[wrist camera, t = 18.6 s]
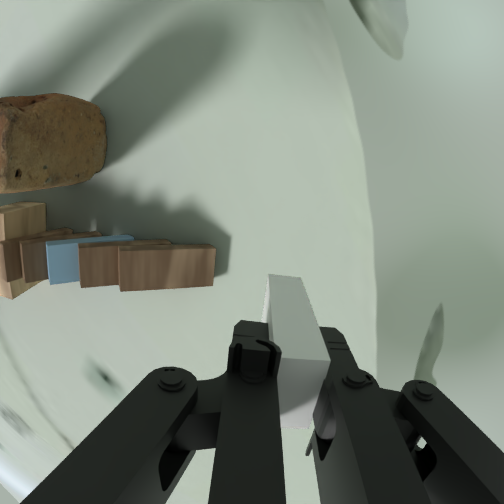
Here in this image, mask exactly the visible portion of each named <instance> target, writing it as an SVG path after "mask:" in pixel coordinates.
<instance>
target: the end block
mask: <svg viewBox="0 0 504 504" xmlns="http://www.w3.org/2000/svg"><path fill="white" fill-rule="evenodd" d="M45 231H46V203H36V202H16V203H12V204H8V205H4V206H0V241H3V240H8V239H12V238H17V237H21V236H26V235H30V234H35V233H40V232H45ZM41 281H43V280H41ZM41 281H36V282H31V283H25V281H24V279H23V278H21V279H18V280H14V281H11V282H8V283H7V282H6V281H5V280H4V279H2V275H1V268H0V296H3V297H6V298H9V299H12V300H13V299H14V298H16V297H17V296H19V295H20V294H22V293H24V292H25V291H27V290H28V289H30V288H31V287H33V286H35V285H36V284H38V283H39V282H41Z"/></svg>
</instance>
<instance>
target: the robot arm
mask: <svg viewBox="0 0 504 504" xmlns="http://www.w3.org/2000/svg"><path fill="white" fill-rule="evenodd" d="M312 418H313V420H314V425H315V429H314V431H313V434H312V437H311V439H310V442H309V444H308V447H307V449H306V455H305V456H309V454H310V452H311V449H313V456H314V462H315V469H316V475H317V482H318V488H319V495H320V502H321V504H504V453H503V452H502V451H501V450H500V449H499V448H498V447H497V446H496V445H495V444H494V443H493V442H492V441H491V440H490V439H489V438H488V437H487V436H486V435H485V434H484V433H483V432H482V431H481V430H480V429H479V428H478V427H477V426H476V425H475V424H474V423H473V422H472V421H471V420H470V419H469V418H468V417H467V416H466V415H465V414H464V413H463V412H462V411H461V410H460V409H459V408H458V407H457V406H456V405H455V404H454V403H453V402H452V401H451V400H450V399H448V398H447V397H446V396H445V395H444V394H443V393H442V392H441V391H440V390H439V389H438V388H437V387H435V386H434V385H433V384H431V383H428V382H426V381H422V380H411V381H409V382H407V383H405V385H404V386H403V388H402V390H401V392H399V391H393V390H388V389H383V388H380V387H379V385H378V383H377V381H376V380H375V379H374V377H373V376H372V375H371V374H369V373H368V372H366V371H363V370H361V369H359V368H358V366H357V363H356V361H355V359H354V357H353V355H352V353H351V351H350V348H349V346H348V344H347V342H346V340H345V338H344V335H343V334H342V333H340V332H339V331H338V330H337V329H336V328H331V327H319V326H318V323H317V320H316V317H315V315H314V312H313V309H312V306H311V304H310V301H309V298H308V295H307V293H306V290H305V287H304V284H303V282H302V279H301V278H300V277H291V276H282V275H273V274H268V279H267V286H266V293H265V300H264V307H263V314H262V320H261V322H254V321H245V320H241V321H240V322H238V323H237V324H236V325H235V326H234V332H233V339H232V343H231V345H230V346H229V354H228V364H227V371H226V372H225V373H224V374H222V375H221V376H219V377H217V378H214V379H209V380H200V381H197V379H196V377H195V376H194V375H193V374H192V373H191V372H189V371H187V370H185V369H183V368H177V367H162V368H158V369H155V370H153V371H152V372H150V373H149V374H148V375H147V376H146V377H145V378H144V379H143V380H142V381H141V382H140V383H139V384H138V385H137V386H136V387H135V388H134V389H133V390H132V391H131V392H130V393H129V394H128V395H127V396H126V397H125V398H124V399H123V400H122V401H121V402H120V403H119V404H118V406H117V407H116V408H115V409H114V410H113V411H112V412H111V413H110V414H109V415H108V416H107V417H106V418H105V419H104V420H103V421H102V422H101V423H100V424H99V425H98V426H97V427H96V428H95V429H94V430H93V431H92V432H91V433H90V434H89V435H88V436H87V437H86V438H85V439H84V440H83V441H82V442H81V443H80V444H79V445H78V446H77V447H76V448H75V449H74V450H73V451H72V452H71V453H70V454H69V455H68V456H67V457H66V458H65V459H64V460H63V461H62V462H61V463H60V464H59V465H58V466H57V467H56V468H55V469H54V470H53V471H52V472H51V473H50V474H49V475H48V476H47V477H46V478H45V479H44V480H43V481H42V482H41V483H40V484H39V485H38V486H37V487H36V488H35V489H34V490H33V491H32V492H31V493H30V494H29V495H28V496H27V497H26V498H25V499H24V500H23V501H22V502H21V503H20V504H165V503H166V501H167V500H168V498H169V496H170V495H171V493H172V492H173V490H174V488H175V487H176V485H177V483H178V482H179V480H180V478H181V477H182V475H183V473H184V471H185V470H186V468H187V466H188V465H189V463H190V461H191V459H192V458H193V456H194V454H195V452H196V450H202V449H211V448H216V450H215V457H214V464H213V471H212V479H211V486H210V493H209V500H208V504H286V494H285V479H284V464H283V450H282V437H281V428H293V429H309V427H310V424H311V421H312ZM421 437H423V439H424V440H425V441H426V442H427V444H426V445H425V447H424V448H423V449H422V448H420V447H418V445H417V443H418V442H419V440H420V438H421Z"/></svg>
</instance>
